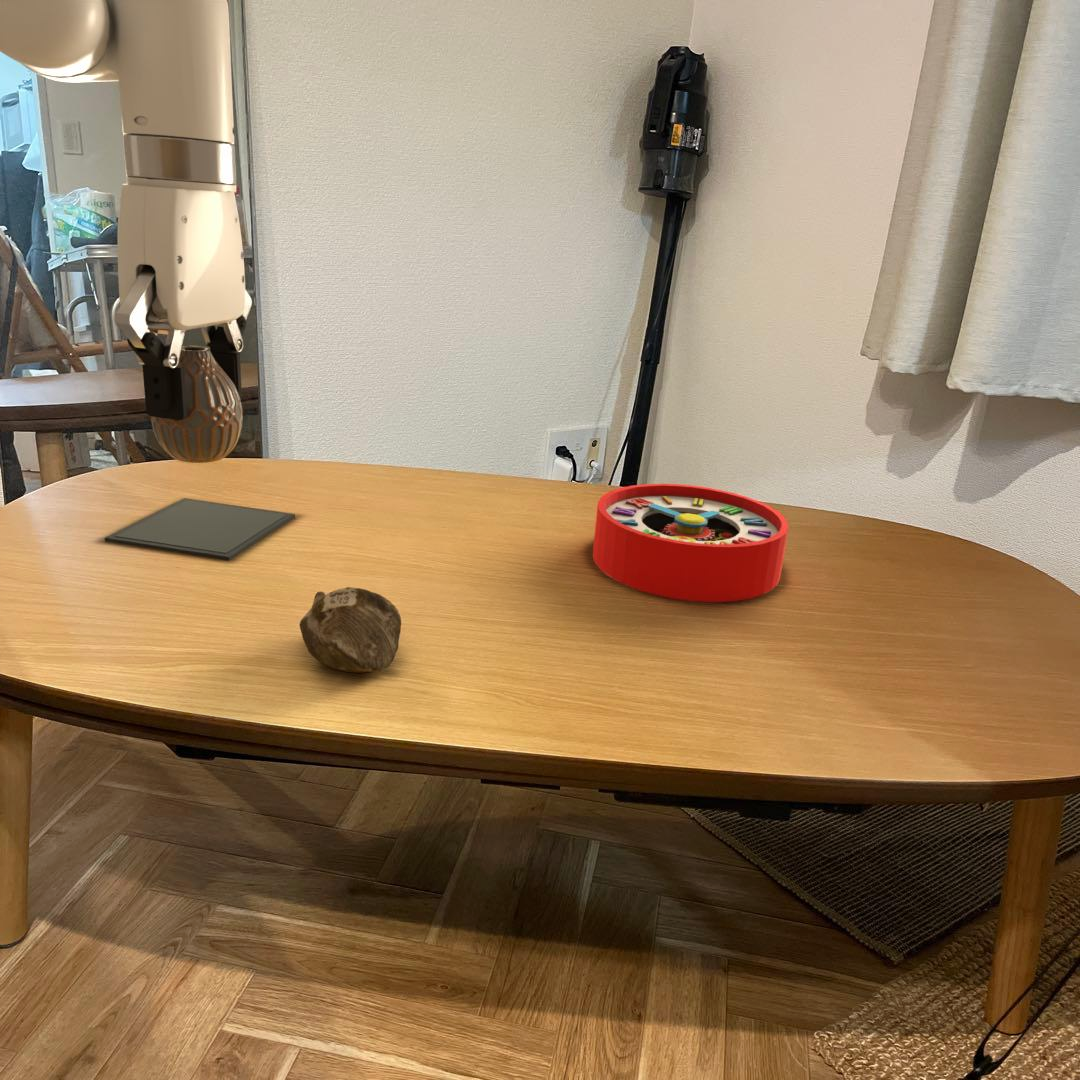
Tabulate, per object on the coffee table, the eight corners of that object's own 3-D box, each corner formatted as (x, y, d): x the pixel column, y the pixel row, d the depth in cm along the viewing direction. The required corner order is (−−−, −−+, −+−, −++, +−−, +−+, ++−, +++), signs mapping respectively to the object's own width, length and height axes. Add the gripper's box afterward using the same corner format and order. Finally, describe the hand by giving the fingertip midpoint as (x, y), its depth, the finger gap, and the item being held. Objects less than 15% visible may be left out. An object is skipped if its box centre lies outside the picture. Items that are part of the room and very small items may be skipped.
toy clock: (709, 562, 81) (558, 502, 95) (701, 620, 83) (554, 553, 97) (826, 522, 94) (678, 474, 108) (816, 573, 96) (672, 520, 110)
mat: (104, 542, 92) (104, 537, 92) (184, 502, 105) (184, 497, 104) (229, 561, 89) (228, 556, 89) (295, 518, 102) (295, 513, 102)
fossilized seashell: (303, 598, 77) (275, 673, 68) (341, 544, 74) (317, 614, 65) (379, 639, 79) (362, 716, 70) (419, 587, 76) (406, 661, 68)
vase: (262, 457, 74) (258, 350, 71) (192, 474, 69) (185, 359, 66) (205, 441, 78) (199, 338, 74) (135, 456, 72) (125, 345, 69)
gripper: (203, 170, 74) (215, 384, 80) (50, 156, 58) (79, 424, 65) (286, 176, 73) (292, 394, 79) (152, 164, 57) (172, 438, 63)
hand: (196, 406), depth 72 cm, fingers closed on vase, 6 cm apart
